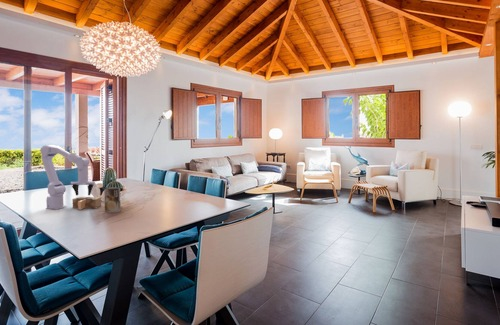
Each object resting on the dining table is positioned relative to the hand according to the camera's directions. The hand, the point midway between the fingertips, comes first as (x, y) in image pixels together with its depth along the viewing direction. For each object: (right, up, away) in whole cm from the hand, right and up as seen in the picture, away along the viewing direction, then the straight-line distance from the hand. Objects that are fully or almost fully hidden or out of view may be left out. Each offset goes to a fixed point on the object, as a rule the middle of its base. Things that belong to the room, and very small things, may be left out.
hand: (83, 195), depth 198 cm
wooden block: (-2, -9, +8) cm, 12 cm away
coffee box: (+22, -11, -3) cm, 25 cm away
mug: (+18, -10, +7) cm, 22 cm away
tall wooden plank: (-2, -9, +4) cm, 10 cm away
